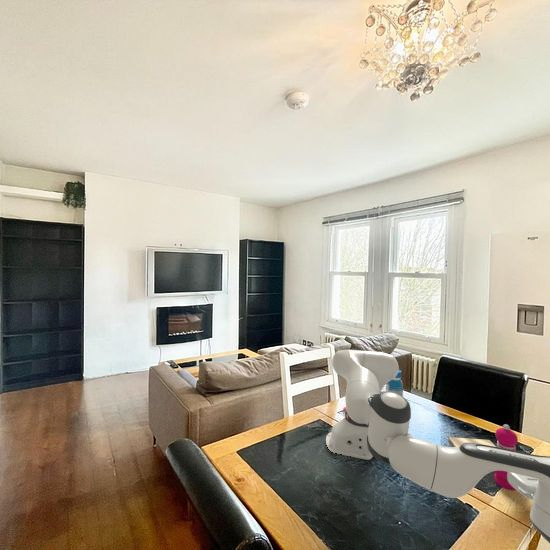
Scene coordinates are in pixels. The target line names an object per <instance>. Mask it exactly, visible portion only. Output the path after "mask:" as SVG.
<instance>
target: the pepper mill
mask: <svg viewBox="0 0 550 550" xmlns="http://www.w3.org/2000/svg"><path fill="white" fill-rule="evenodd" d="M494 435H495V439H496V440H497V441H496V442H497V443H496V447H499V448H504V449H509V450H514V451H517V449H516V448H517V446H516V445H517V444H518V441H519V439H518V438H519V437H518V436H517V434H516V432H514V431H513V430H511V427H510V426H509V424H507V423H506V424H503V425H502V427H499V428H497V429H496V431H495V434H494ZM493 472H494V477H493V478H494V479H493V480H494V482H495V483H496V484H497V485H498V486H499V487H501V488H503V489H505V490H510V491H515V490H516V489H515V488H514V487H513V486H511V485H510V483H509V482H508V479H507V473H508V472H507V471H501V470H497V471H493ZM516 491H517V490H516Z"/></svg>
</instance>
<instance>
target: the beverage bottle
mask: <svg viewBox="0 0 550 550" xmlns="http://www.w3.org/2000/svg"><path fill="white" fill-rule="evenodd" d="M401 378H402V370H400V369H398V373H397V375H396V377H395V378H394V379H393V380H391V381H389V382H388V383H387V384H386V385H385V391H391V392H395V393H398V394H400V395H401V396H403V395H404V388H403V386H404V383H403V380H402V379H401ZM403 397H404V396H403Z"/></svg>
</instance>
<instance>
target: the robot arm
mask: <svg viewBox="0 0 550 550" xmlns="http://www.w3.org/2000/svg"><path fill="white" fill-rule="evenodd" d="M331 361H332V362H331V364H332V365H331V366H332V367H333V368H332V369H333V370H334V372H335V373H336V374H337V375H339V376H341V377H342V378H343V379H344V380H345V381H346V387H345V388H346V389H345V400H344V401H345V406H344V407H343V409H342V410H343V413H344V418H342V419H340V420H339V421H337V422H335V423H334V424H333V426H332V428H331V432H329V433H328V434H326V437H325V446H326V445H327V446H326V448H327V447H328V449H329V450H330V451H331V452H333V453H332V454H335V453H337V455H340V454H342V455H341V456H347V457H350V456H351V457H352V458H356V459H361V460H367V461H368V460H371V459H373V458H374V459H376V460H377V461H378V462H381V463H382V464H386V465H390V466H391V468H392V470H394V471H395V472H397V473H398V474H399V475H401V476H402V477H404V478H406V479H407V480H410V482H412V483H414V484H416V485H419V486H420V487H421V488H424V489H427V490H430V491H431V492H434V493H436V494H438V495H441V496H443V497H446V498H450V499H458V498H462V497H464V496H466V495H467V494H469V493H470V492H471V491H472V490H473V489H474V488H475V487H476V485H477V484H478V483H479V482H480V481H481V480H482V479H483V478H484V477H485V476H486V475H488V474H490V473H492V472H494V471H497V470H501V471H507V472H508V473H507V479H508V482H509V483H510V485H511V486H513V487H514V488H515V489H516V491H517V492H518V493H519V494H520V495H522V496H523V497H524V498H526V499H528V500H529V499H530V500H532V502H531V507H530V512H529V519H530V522H531V524H532V525H533V527H534V529H536V531H537V532H538V533H539V534H540V536H542V537H543V539H544V540H545V541H547V543H549V544H550V456H549V455H548V456H547V455H538V454H532V453H529V452H528V453H527V452H523V451H517V450H516V451H514V450H509V449H504V448H499V447H498V446H496V447H494V446H489V445H483V444H477V443H463V444H462V445H461V446H459V447H453V446H450V447H449V446H444V445H440V444H437V443H433V442H430V441H428V440H425V439H421V438H418V437H414V436H413V435H411V434H410V433H408V432H409V428H410V420H411V417H412V415H411V414H412V408H411V404H410V402H409V401H408V400H407V399H406V398H405V397H404V396H401V395H400V394H398V393H395V392H391V391H386V390H384V391H382V390H383V388H384V387H386V385H387V383H388V382H389V381H391V380H393V379H394V378H395V377H396V375H397V373H398V370H400V367H399V363H398V361H397V359H396V357H395V356H394V355H392V354H389V353H387V352H382V351H372V350H361V349H360V350H358V349H340V350H337V351H336V352H335V353H334V355H333V357H332V359H331ZM328 449H327V450H328ZM329 450H328V451H329ZM330 451H329V452H330ZM331 452H330V453H331Z"/></svg>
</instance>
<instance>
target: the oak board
mask: <svg viewBox="0 0 550 550" xmlns="http://www.w3.org/2000/svg"><path fill="white" fill-rule="evenodd" d="M447 440H448V442H449V444H450V445H451V447H459V446H461V445H462V444H463V443H477V444H483V445H489V446H494V447H497V445H495V444H494V443H493V441H491V440H490V439H480V438H479V439H478V438H467V437H466V438H465V437H454V436H453V437H452V436H451V437H450V436H448V437H447Z"/></svg>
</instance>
